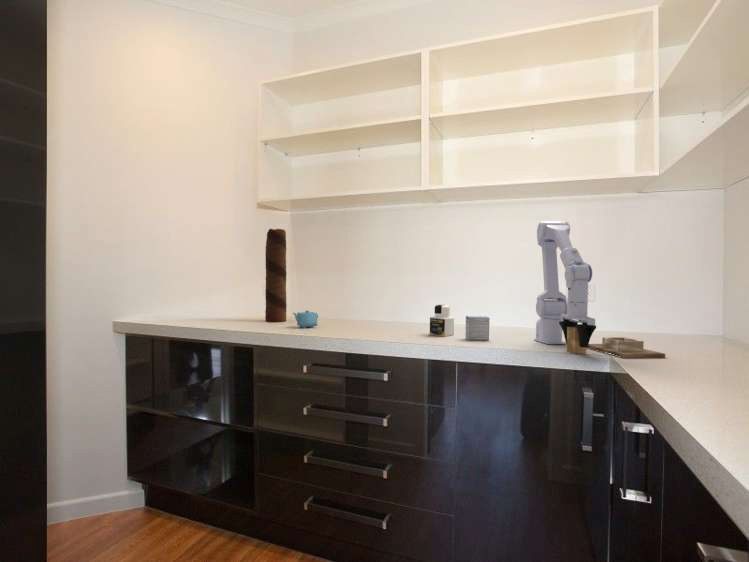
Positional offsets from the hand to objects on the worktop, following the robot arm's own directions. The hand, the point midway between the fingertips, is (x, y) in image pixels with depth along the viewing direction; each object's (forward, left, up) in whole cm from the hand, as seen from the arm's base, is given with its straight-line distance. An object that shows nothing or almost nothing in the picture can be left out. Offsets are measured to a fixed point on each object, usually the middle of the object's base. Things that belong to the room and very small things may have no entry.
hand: (576, 345), depth 128 cm
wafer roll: (-85, -102, -3) cm, 133 cm away
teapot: (-62, -87, -3) cm, 107 cm away
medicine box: (-27, -22, -3) cm, 35 cm away
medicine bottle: (-39, -32, -3) cm, 51 cm away
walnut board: (0, +16, -2) cm, 16 cm away
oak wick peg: (0, 0, -2) cm, 2 cm away
